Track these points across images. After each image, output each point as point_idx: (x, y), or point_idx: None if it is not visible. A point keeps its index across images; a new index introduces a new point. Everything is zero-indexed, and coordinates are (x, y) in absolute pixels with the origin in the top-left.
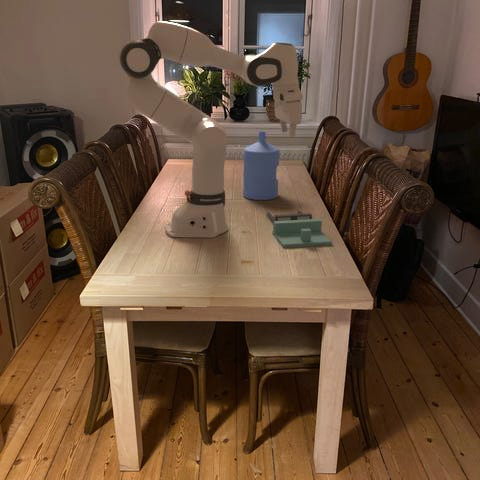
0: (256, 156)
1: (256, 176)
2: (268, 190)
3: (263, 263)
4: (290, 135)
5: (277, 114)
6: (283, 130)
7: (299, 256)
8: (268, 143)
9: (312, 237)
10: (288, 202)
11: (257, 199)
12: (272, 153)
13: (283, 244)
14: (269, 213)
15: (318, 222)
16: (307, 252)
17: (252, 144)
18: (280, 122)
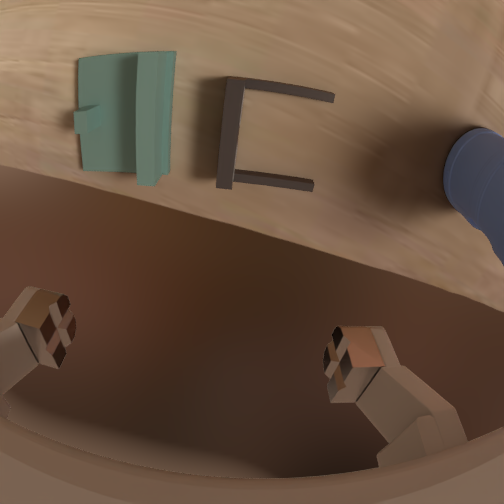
0: None
1: (496, 166)
2: (457, 179)
3: (29, 13)
4: (23, 291)
5: (499, 488)
6: (340, 344)
7: (41, 84)
8: None
9: (108, 137)
10: (406, 204)
11: (455, 143)
12: None
13: (79, 59)
14: (322, 97)
15: (138, 174)
16: (55, 105)
17: None
18: (430, 409)
